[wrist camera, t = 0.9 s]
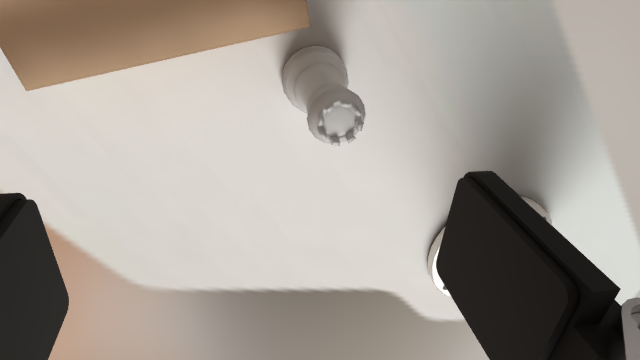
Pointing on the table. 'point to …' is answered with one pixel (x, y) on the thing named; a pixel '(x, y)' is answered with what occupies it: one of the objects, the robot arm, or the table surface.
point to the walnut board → (129, 32)
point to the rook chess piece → (323, 94)
